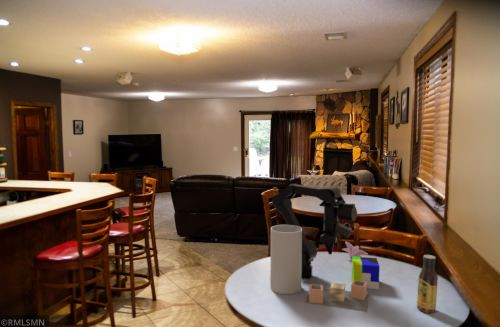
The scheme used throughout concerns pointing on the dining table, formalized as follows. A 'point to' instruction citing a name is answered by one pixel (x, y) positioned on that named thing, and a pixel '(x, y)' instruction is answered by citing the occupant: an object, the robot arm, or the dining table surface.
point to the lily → (354, 251)
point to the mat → (347, 304)
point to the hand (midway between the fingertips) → (330, 254)
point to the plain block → (337, 292)
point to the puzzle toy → (366, 271)
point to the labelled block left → (316, 293)
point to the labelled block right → (359, 290)
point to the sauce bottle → (427, 285)
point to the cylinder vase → (286, 259)
